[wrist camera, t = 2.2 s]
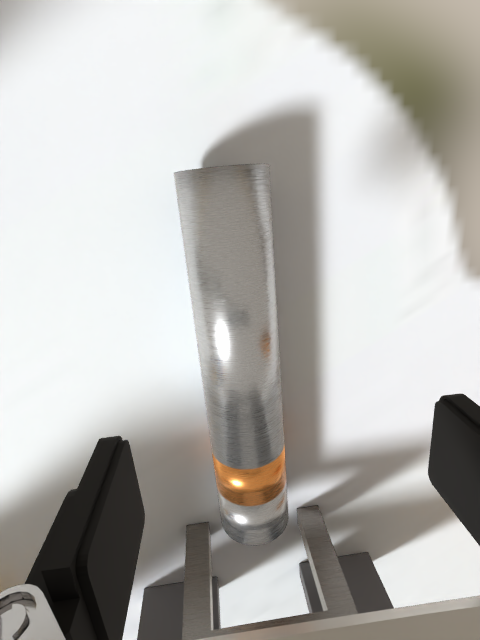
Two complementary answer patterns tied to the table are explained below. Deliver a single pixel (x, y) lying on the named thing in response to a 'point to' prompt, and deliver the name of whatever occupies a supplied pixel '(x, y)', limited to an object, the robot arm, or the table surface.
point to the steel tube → (237, 341)
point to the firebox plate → (167, 606)
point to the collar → (333, 604)
